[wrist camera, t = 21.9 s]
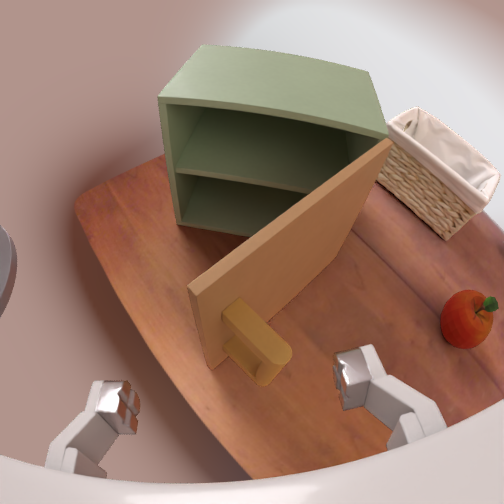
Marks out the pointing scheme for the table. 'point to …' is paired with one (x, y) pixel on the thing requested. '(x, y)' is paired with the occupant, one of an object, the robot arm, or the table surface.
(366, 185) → the cupboard door
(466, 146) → the basket
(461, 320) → the fruit
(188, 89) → the cupboard
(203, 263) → the table surface
